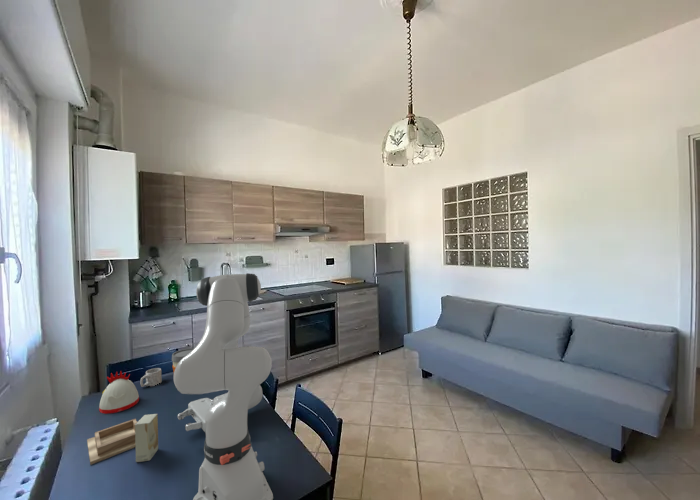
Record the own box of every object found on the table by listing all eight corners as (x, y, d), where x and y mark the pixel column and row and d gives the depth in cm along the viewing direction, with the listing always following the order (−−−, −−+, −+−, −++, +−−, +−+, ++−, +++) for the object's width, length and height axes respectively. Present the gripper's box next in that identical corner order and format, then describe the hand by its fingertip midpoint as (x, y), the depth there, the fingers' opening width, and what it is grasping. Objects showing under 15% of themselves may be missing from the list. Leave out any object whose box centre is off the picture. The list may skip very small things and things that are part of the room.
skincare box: (150, 461, 97) (148, 423, 97) (135, 463, 96) (134, 425, 96) (159, 448, 103) (158, 412, 103) (145, 449, 102) (144, 414, 102)
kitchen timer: (103, 402, 135) (102, 369, 135) (140, 394, 142) (139, 363, 142) (95, 417, 123) (94, 381, 123) (136, 407, 130) (135, 373, 130)
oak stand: (149, 441, 107) (149, 431, 107) (90, 464, 96) (89, 454, 95) (141, 423, 118) (140, 414, 118) (87, 442, 107) (86, 432, 107)
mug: (155, 379, 158) (155, 367, 157) (164, 381, 155) (164, 368, 155) (136, 388, 148) (135, 375, 148) (145, 390, 146) (145, 376, 146)
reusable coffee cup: (169, 381, 155) (168, 352, 155) (196, 373, 164) (195, 346, 164) (175, 389, 146) (174, 358, 146) (203, 381, 155) (202, 352, 154)
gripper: (211, 390, 124) (173, 403, 114) (231, 409, 109) (190, 425, 99) (211, 405, 124) (174, 419, 114) (232, 426, 109) (190, 444, 99)
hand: (181, 422), depth 107 cm, fingers open, 8 cm apart
